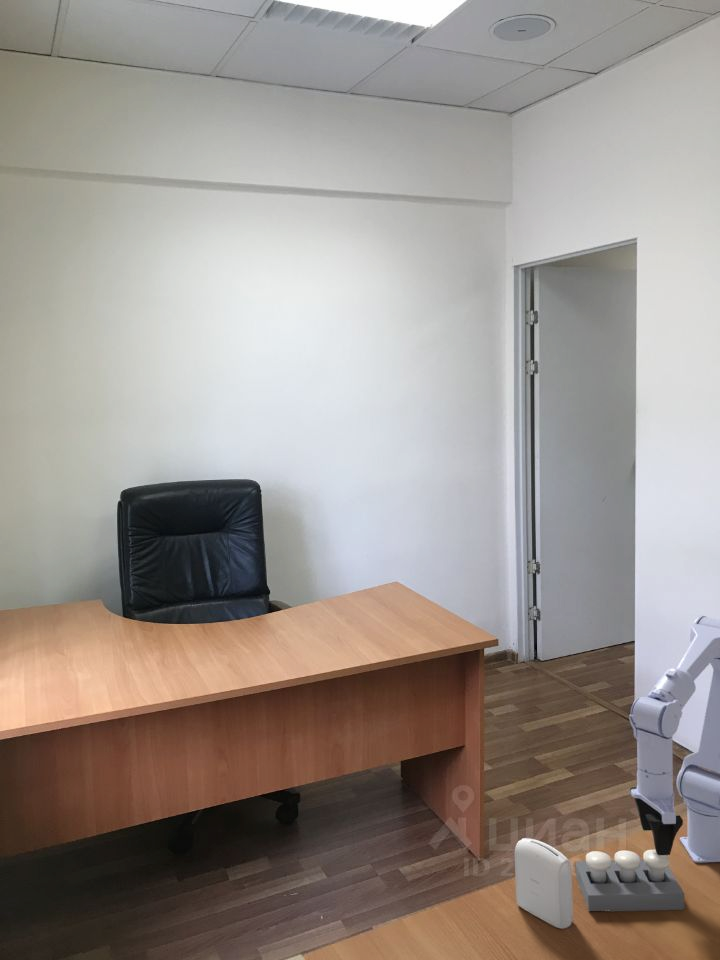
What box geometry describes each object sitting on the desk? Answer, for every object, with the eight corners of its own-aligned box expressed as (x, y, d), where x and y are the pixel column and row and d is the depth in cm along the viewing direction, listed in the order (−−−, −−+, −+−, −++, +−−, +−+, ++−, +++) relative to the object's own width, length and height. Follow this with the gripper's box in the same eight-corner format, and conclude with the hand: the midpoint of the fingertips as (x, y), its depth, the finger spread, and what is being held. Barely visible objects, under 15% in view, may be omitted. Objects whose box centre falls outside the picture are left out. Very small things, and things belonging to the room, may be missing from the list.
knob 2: (664, 869, 144) (664, 849, 144) (672, 884, 140) (672, 863, 140) (640, 870, 144) (640, 849, 144) (648, 885, 140) (647, 863, 140)
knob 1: (607, 871, 145) (607, 850, 144) (614, 885, 141) (613, 864, 140) (583, 872, 145) (583, 851, 144) (589, 886, 141) (589, 865, 140)
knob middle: (636, 870, 144) (635, 850, 144) (643, 885, 140) (643, 863, 140) (612, 871, 145) (611, 850, 144) (618, 885, 140) (618, 864, 140)
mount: (664, 874, 147) (664, 858, 147) (684, 909, 138) (684, 893, 137) (575, 876, 148) (574, 861, 148) (588, 912, 138) (588, 895, 138)
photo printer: (512, 905, 141) (510, 837, 140) (528, 894, 144) (526, 828, 142) (561, 933, 133) (559, 862, 132) (577, 922, 136) (575, 852, 134)
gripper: (619, 749, 147) (620, 820, 149) (644, 788, 133) (645, 866, 134) (658, 747, 147) (659, 818, 149) (688, 786, 133) (688, 865, 134)
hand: (655, 841), depth 142 cm, fingers open, 7 cm apart
